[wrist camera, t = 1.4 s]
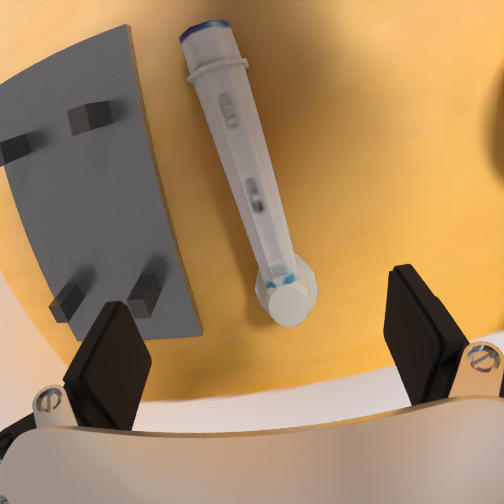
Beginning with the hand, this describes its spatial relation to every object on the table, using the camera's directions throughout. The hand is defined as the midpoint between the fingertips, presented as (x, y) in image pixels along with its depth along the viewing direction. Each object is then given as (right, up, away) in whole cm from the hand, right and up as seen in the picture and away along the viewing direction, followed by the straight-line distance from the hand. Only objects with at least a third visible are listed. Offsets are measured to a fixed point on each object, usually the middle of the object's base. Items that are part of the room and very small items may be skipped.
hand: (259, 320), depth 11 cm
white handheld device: (0, +9, +15) cm, 18 cm away
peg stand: (-16, +6, +16) cm, 23 cm away
